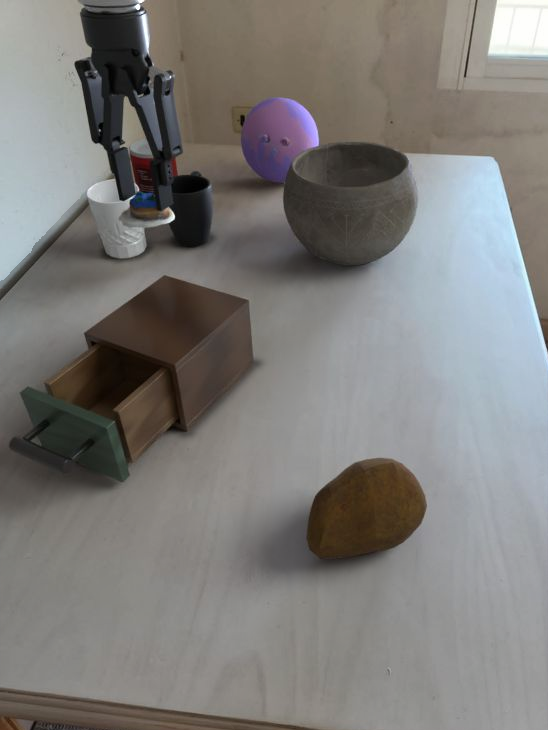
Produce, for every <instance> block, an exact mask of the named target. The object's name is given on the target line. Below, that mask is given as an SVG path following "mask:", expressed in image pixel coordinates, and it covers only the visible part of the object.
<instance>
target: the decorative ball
mask: <svg viewBox="0 0 548 730" xmlns="http://www.w3.org/2000/svg"><path fill="white" fill-rule="evenodd" d="M317 127H318V126H317V125H316V122H315V120H314V118H313V116H312V115H311V114H310V112H309V110H307V108H305V107H304V106H303V105H302V104H300V103H299V102H298V101H296V100H293V99H290V98H286V97H271V98H268V99H267V98H266V99H265V100H263V101H261V102H259V103H257V104H256V105H255V106H254V107H253V108H251V110H250V111H249V113H248V114H247V115H246V117H245V119H244V122H243V124H242V128H241V133H240V146H241V149H242V153H243V156H244V159H245V161H246V163H247V164H248V166H249V167H250V168H251V170H252V171H253V172H254V173H255V174H256V175H258V176H259V177H260V178H263V179H264V180H266V181H268V182H272V183H279V184H281V183H282V184H283V183H284V184H285V179H286V175H287V172H288V169H289V167H290V164H291V162H292V161H293V159H294V158H295V157H296V156H297V155H298V154H300V153H301V152H302V151H306V150H307V149H309V148H312V147H316V146H320V145H319V143H320V138H319V131H318V128H317Z"/></svg>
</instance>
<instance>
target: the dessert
mask: <svg viewBox="0 0 548 730" xmlns="http://www.w3.org/2000/svg"><path fill="white" fill-rule="evenodd" d="M129 204H130V208H128V209H127V210H124V211H123V212H122V214H121V216H119V220H120V221H122V223H123V226H127V227H143V228H145V229H146V228H155V227H158V226H161V225H166V224H168V223H170V222H171V221H173V220H174V219H175V215H174V213H173V212H172V210H171V209H170V208H169V207H168V208H166V209H164V210H163V211H159V210H157V206H156V200H155V194H154V193H148V194H147V193H143V192H139V191H137V192H136V195H135V196H134V197H133V198H132V199H130V202H129Z"/></svg>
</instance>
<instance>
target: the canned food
mask: <svg viewBox="0 0 548 730" xmlns="http://www.w3.org/2000/svg"><path fill="white" fill-rule="evenodd" d="M161 150H162V149H161ZM128 153H129V158H130V164H131V169H132V174H133V179H134V183H135V184H136V185H137V186H138V188H139V192H143V193H147V194H148V193H154V188H153V181H152V175H151V169H150V163H149V162H150V160H152V159H154V157H153V155H152V152H151V150H150V147H149V144H148V142H147V139H146V138H145V139H140V140H137V141H135V142H133V143H131V144H130V145H129V147H128ZM176 159H177V157H175V158H173V159H171V164H172V171H173V176H178V175H179V174H178V165H177V160H176Z"/></svg>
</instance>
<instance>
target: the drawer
mask: <svg viewBox="0 0 548 730" xmlns="http://www.w3.org/2000/svg"><path fill="white" fill-rule="evenodd" d="M43 384H44V385H43V386H44V387H45V390H46V392H47V393H46V392H43V391H41V390H39V389H36V388H34V387H31V386H26V387H25V388H24V389H22V390H21V391H20V392H19V395H20V397H21V400H22V402H23V404H24V407H25V410H26V412H27V414H28V417H29V419H30V421H31V424H32V426H33V428H32V429H30V430H29V431H28V432H27V433H25V434H24V435H23V436H20V435H16V436H14V437H12V438H11V439H10V440H9V442H8V449H9V450H10V451H11V452H13V453H15V454H18V455H20V456H22V457H24V458H26V459H28V460H31V461H32V462H35V463H37V464H39V465H41V466H44V467H46V468H48V469H50V470H53V471H54V472H57V473H58V474H61V475H64V476H68V475H69V474H71V473H72V471H73V470H74V468H75V463H78V464H79V465H82V466H85V467H86V468H89V469H90V470H93V471H96V472H98V473H100V474H102V475H104V476H107V477H109V478H111V479H114V480H115V481H118V482H120V483H124V482H125V481H127V480H128V478H129V477H130V476H131V473H130V471H129V467H128V462H129V463H131V464H133V463H135V462H136V460H138V459H139V458H140V457H141V456H142V455H143V454H144V453H145V452H146V451H147V450H148V449H149V448H150V447H151V446H152V445H153V444H154V443H155V442H156V441H157V440H158V439H159V438H161V436H162V435H163V434H164V433H165V432H166V431H167V430H168V429H170V427H172V424H173V423H174V422H175V421H176V420H177V419H178V418H179V412H178V406H177V401H176V396H175V391H174V385H173V380H172V375H171V370H170V369H169V368H166V367H164V366H161V365H158V364H155V363H152V362H150V361H147V360H144V359H141V358H138V357H136V356H133V355H130V354H127V353H124V352H122V351H119V350H116V349H113V348H110V347H107V346H105V345H102V344H99V343H96V344H95V345H93V346H92V347H91V348H89V349H88V348H87V350H84V352H82V353H81V354H80V355H78V356H77V357H76V358H75V359H73V360H72V361H70V362H69V363H68V364H67V365H65V366H64V367H62V368H61V369H60V370H58V371H57V372H56V373H55V374H53V375H52V376H50V377H49V378H48V379H46V380H44V382H43ZM36 437H37V439H38V441H39V443H40V444H38V443H35V442H33V441H32V440H34V439H35V438H36Z"/></svg>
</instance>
